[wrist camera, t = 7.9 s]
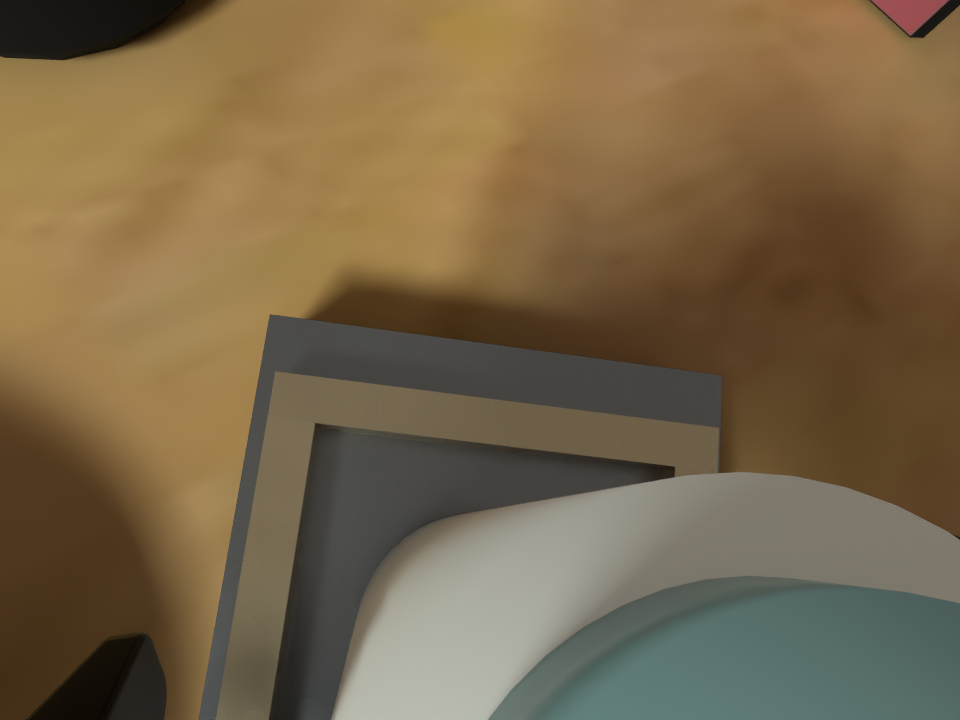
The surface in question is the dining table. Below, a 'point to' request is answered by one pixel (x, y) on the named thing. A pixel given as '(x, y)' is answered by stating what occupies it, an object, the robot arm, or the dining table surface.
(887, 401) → the dining table surface
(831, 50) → the dining table surface
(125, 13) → the coffee jar
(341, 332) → the grey rectangular tray
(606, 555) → the white canister
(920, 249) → the dining table surface
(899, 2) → the puzzle cube
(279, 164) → the dining table surface
